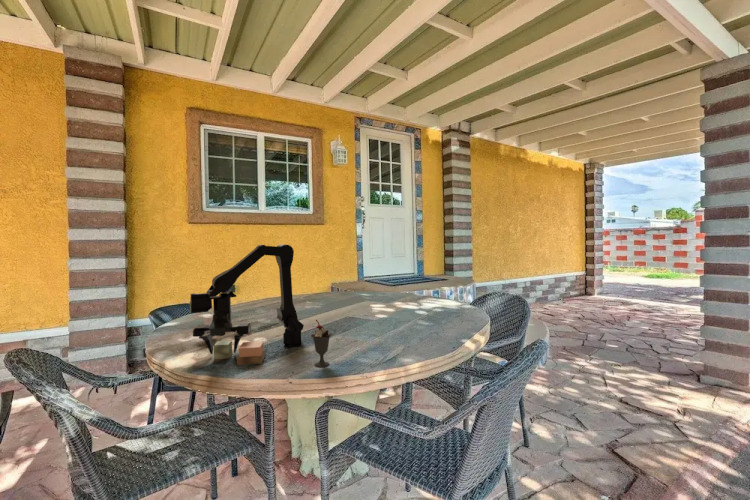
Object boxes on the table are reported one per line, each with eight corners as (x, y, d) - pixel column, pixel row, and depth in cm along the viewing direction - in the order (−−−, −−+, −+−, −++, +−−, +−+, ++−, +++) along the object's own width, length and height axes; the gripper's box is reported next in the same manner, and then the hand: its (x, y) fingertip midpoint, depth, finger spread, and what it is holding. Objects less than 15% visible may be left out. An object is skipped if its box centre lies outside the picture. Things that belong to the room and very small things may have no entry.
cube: (232, 353, 135) (231, 340, 134) (229, 358, 130) (228, 344, 129) (218, 354, 134) (217, 341, 134) (214, 359, 129) (213, 345, 129)
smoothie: (213, 340, 151) (212, 307, 150) (199, 340, 152) (198, 306, 152) (223, 336, 157) (222, 304, 157) (209, 336, 159) (208, 303, 158)
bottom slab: (265, 357, 132) (265, 348, 132) (261, 364, 124) (261, 356, 124) (242, 358, 131) (241, 350, 131) (236, 366, 123) (236, 357, 123)
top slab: (263, 349, 131) (263, 341, 131) (260, 355, 124) (260, 347, 124) (243, 350, 130) (243, 342, 130) (238, 357, 123) (238, 348, 123)
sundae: (312, 361, 125) (311, 318, 124) (332, 361, 126) (331, 317, 125) (310, 368, 119) (309, 323, 118) (331, 367, 119) (330, 322, 118)
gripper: (186, 316, 122) (187, 362, 122) (244, 314, 124) (245, 359, 125) (197, 309, 133) (198, 352, 133) (250, 307, 135) (251, 349, 136)
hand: (223, 353), depth 132 cm, fingers open, 8 cm apart
